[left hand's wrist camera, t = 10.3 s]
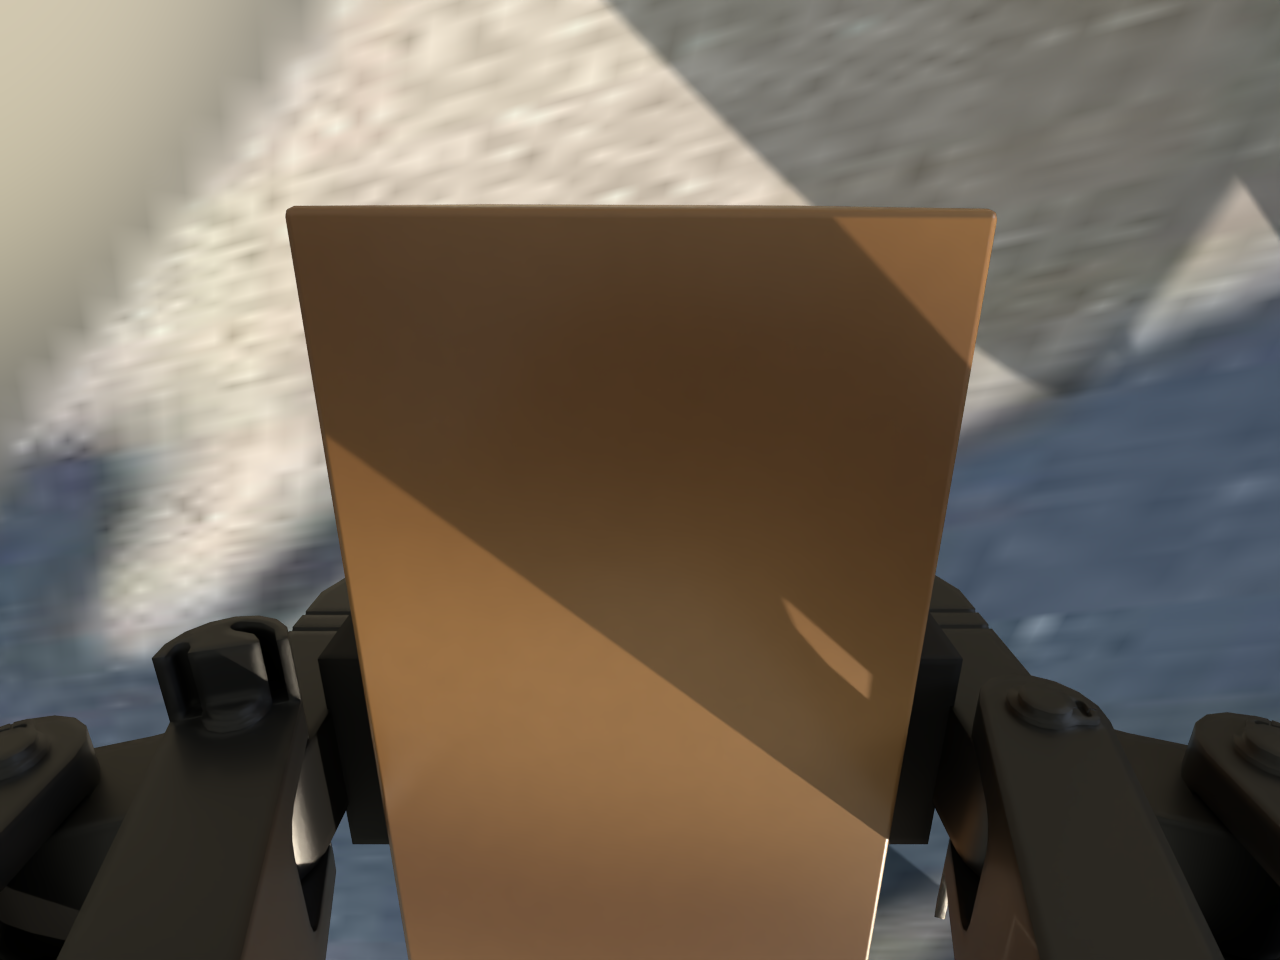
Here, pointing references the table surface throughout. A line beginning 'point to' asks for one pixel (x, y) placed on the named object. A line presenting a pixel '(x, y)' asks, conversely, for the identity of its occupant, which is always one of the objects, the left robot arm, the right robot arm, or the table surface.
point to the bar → (639, 555)
